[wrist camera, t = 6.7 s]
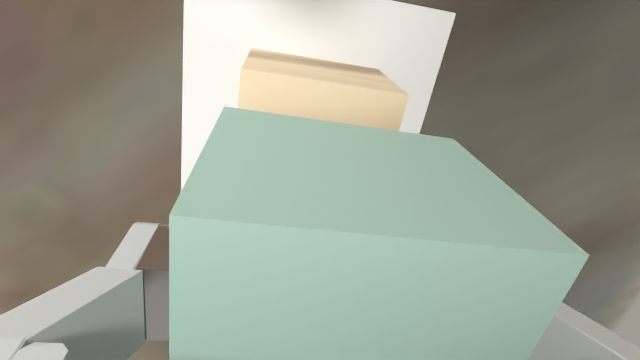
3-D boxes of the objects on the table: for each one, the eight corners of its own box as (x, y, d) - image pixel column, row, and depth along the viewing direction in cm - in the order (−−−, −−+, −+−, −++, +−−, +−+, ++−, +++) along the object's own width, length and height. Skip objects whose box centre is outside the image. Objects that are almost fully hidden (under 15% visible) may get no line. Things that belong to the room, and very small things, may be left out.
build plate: (189, -40, 16) (184, -41, 15) (447, 11, 18) (455, 13, 17) (185, 200, 21) (180, 209, 21) (385, 220, 23) (389, 230, 22)
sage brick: (224, 106, 9) (169, 215, 5) (453, 138, 10) (588, 255, 6) (212, 294, 12) (168, 480, 7) (395, 306, 13) (457, 477, 8)
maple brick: (251, 48, 17) (241, 68, 13) (377, 68, 18) (409, 94, 14) (240, 166, 20) (228, 217, 15) (351, 179, 21) (370, 231, 16)
